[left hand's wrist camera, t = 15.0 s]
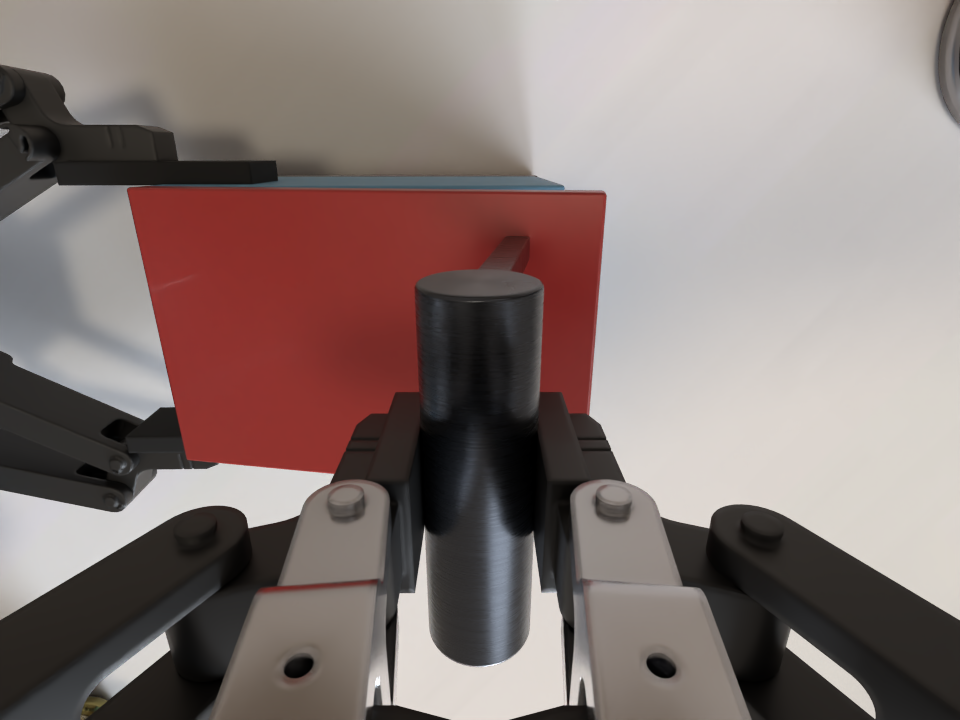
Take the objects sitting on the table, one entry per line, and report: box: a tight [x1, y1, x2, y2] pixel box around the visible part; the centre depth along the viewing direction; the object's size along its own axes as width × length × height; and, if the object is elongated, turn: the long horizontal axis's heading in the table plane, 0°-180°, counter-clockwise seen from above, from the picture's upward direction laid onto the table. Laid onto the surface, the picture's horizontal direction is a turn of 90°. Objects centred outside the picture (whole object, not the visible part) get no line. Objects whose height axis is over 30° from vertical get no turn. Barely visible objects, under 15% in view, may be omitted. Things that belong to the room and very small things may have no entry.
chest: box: [151, 175, 565, 190], centre depth 24 cm, size 14×10×9 cm
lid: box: [127, 186, 607, 667], centre depth 14 cm, size 14×10×9 cm
